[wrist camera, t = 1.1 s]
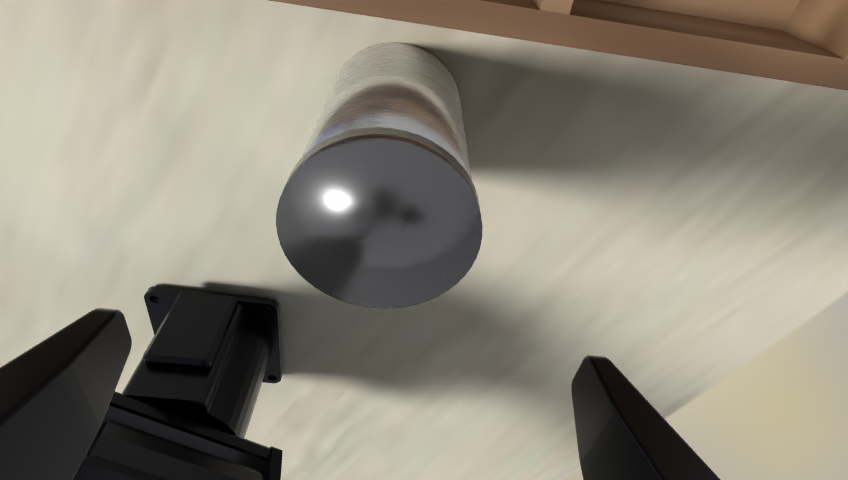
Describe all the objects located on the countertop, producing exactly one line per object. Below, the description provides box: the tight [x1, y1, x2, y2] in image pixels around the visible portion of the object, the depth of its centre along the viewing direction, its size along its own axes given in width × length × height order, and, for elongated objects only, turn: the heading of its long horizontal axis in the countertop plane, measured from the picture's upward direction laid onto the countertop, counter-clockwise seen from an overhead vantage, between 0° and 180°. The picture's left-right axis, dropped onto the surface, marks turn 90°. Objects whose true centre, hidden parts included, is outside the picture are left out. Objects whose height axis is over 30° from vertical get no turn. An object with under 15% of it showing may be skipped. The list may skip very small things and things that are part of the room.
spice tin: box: [276, 43, 482, 308], centre depth 16 cm, size 5×5×8 cm
